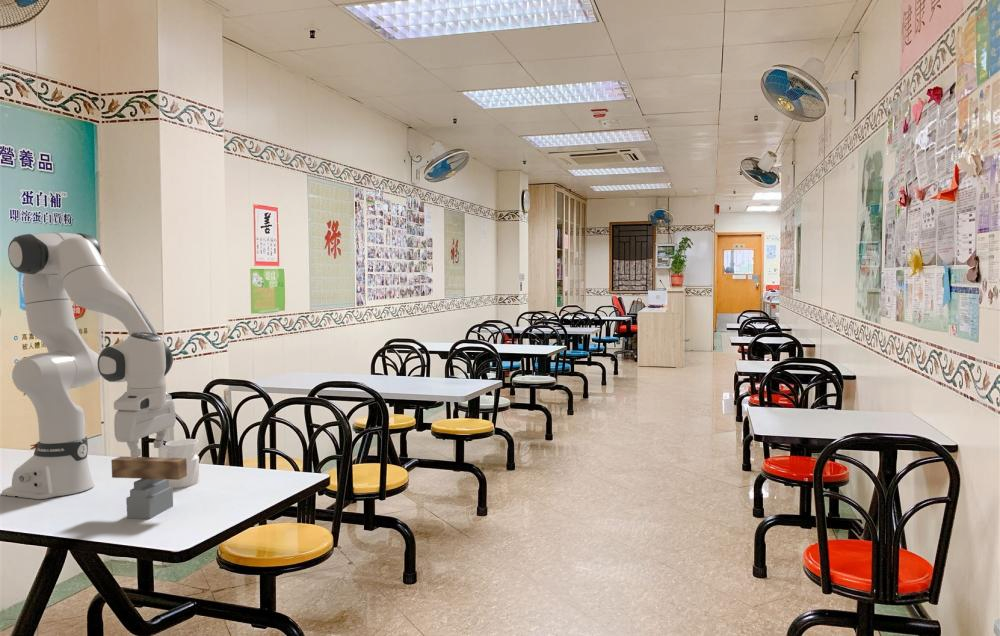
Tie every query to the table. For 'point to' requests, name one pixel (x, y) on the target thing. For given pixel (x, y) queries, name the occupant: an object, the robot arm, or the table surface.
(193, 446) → the vase
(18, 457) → the table surface
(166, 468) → the walnut bar
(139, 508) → the ridge block
